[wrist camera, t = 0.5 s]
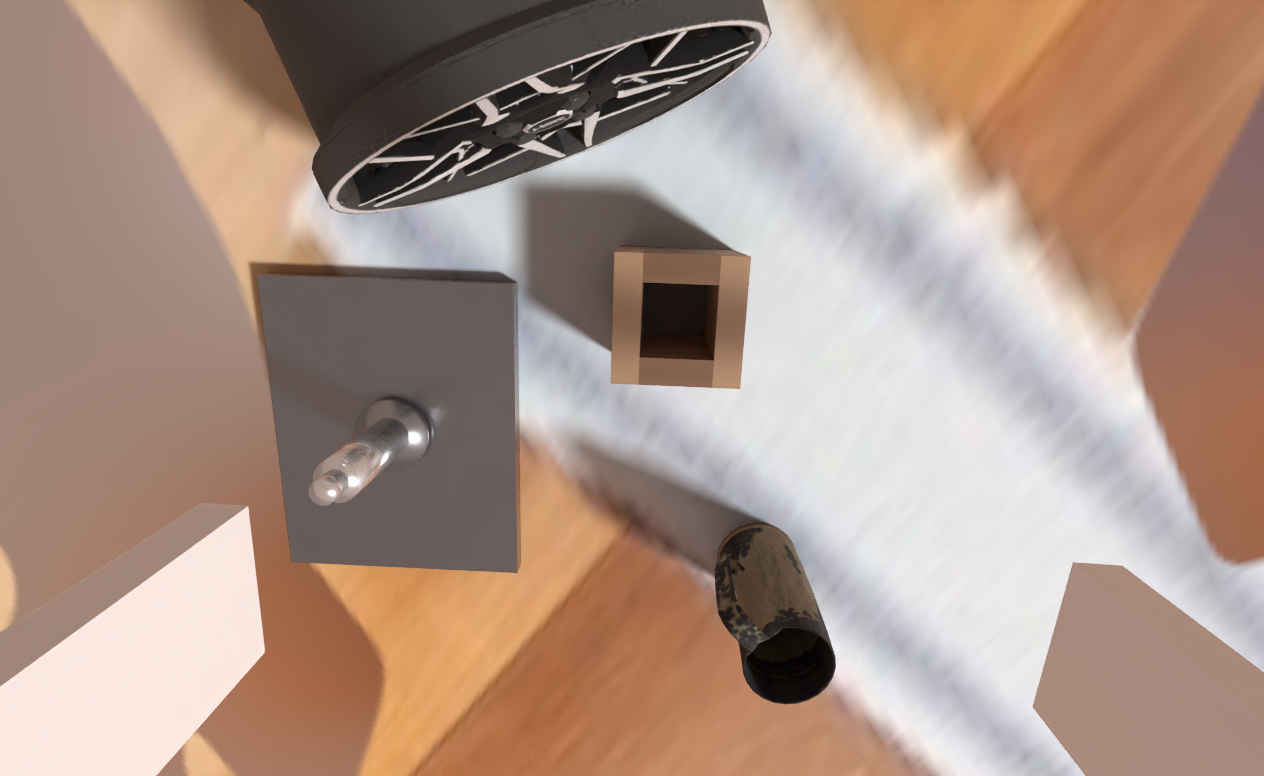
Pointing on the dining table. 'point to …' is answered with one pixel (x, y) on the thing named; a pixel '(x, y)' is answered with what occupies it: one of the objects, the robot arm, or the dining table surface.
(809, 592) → the mug
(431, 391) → the shaft stand
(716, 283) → the hollow wooden cube
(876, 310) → the dining table surface
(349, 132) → the wheel rim
